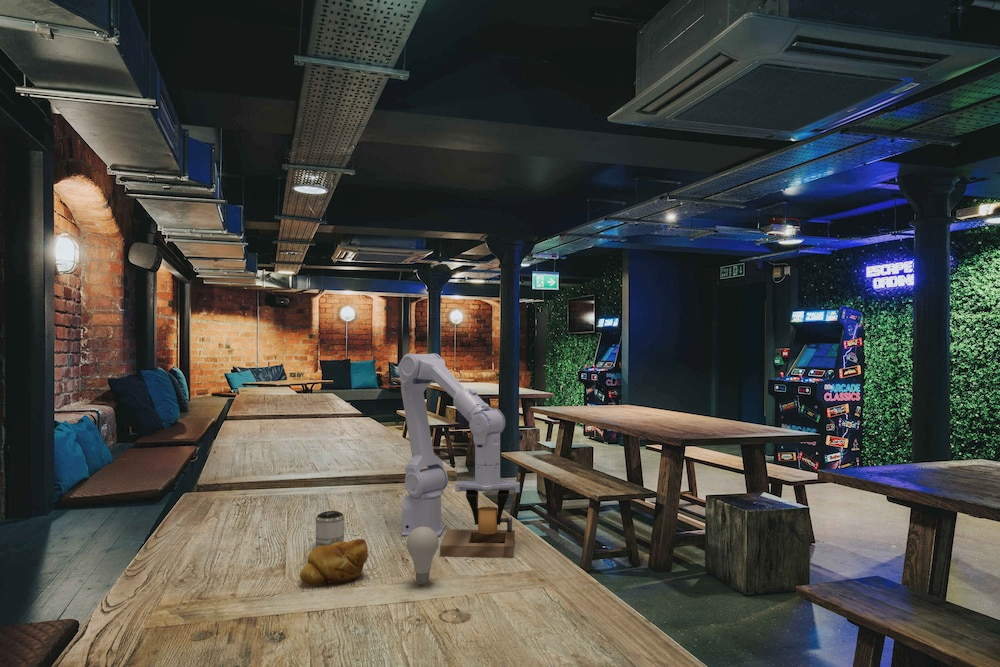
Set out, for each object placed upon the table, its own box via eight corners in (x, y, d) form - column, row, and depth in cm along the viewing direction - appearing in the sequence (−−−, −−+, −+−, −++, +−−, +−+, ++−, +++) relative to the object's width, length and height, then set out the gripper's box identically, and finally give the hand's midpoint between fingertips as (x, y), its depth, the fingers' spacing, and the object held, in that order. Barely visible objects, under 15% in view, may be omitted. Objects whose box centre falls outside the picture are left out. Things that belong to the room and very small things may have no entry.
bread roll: (304, 594, 114) (304, 550, 115) (293, 577, 123) (293, 536, 123) (371, 580, 121) (372, 539, 121) (356, 565, 129) (357, 527, 129)
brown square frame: (439, 556, 135) (439, 545, 135) (447, 539, 147) (447, 529, 147) (513, 557, 134) (513, 546, 134) (514, 540, 146) (514, 530, 146)
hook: (478, 542, 145) (478, 518, 145) (478, 540, 146) (478, 517, 146) (512, 542, 144) (512, 518, 144) (512, 540, 145) (512, 517, 145)
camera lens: (349, 547, 141) (349, 512, 141) (325, 554, 136) (325, 518, 137) (334, 541, 145) (334, 507, 145) (310, 547, 141) (310, 513, 141)
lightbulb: (443, 580, 121) (443, 524, 121) (430, 592, 115) (430, 533, 115) (415, 577, 123) (415, 521, 123) (400, 588, 117) (400, 529, 117)
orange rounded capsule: (476, 533, 138) (476, 511, 138) (479, 528, 142) (479, 506, 142) (495, 534, 137) (495, 512, 137) (498, 528, 142) (498, 507, 142)
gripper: (453, 466, 137) (453, 528, 137) (519, 466, 136) (519, 528, 136) (457, 460, 144) (457, 519, 144) (519, 461, 143) (520, 520, 143)
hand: (487, 523), depth 140 cm, fingers closed on orange rounded capsule, 4 cm apart
